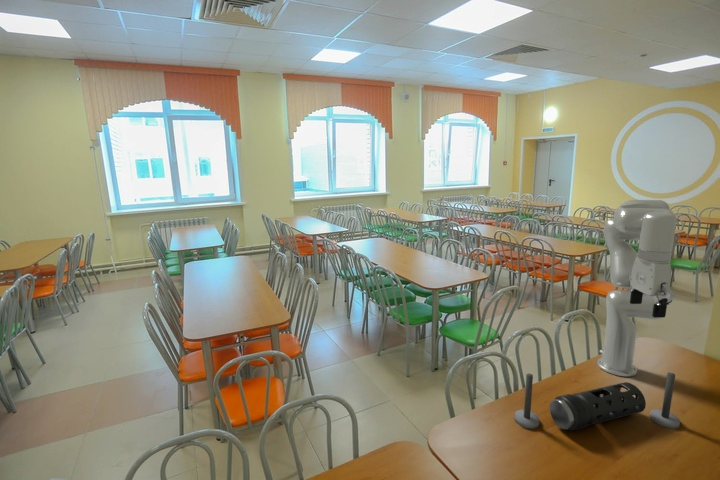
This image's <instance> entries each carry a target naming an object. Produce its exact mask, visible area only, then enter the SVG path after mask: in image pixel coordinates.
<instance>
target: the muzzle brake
mask: <svg viewBox="0 0 720 480" xmlns="http://www.w3.org/2000/svg"><path fill="white" fill-rule="evenodd" d="M622 388H623V389H625V390H626V391H621V390H622ZM634 396H635V397H634ZM646 404H647V402H646V399H645V396H644V394H643V392H642V391H641V390H640V389H639V388H638V387H637V386H636V385H634V384H632V383H631V382H627V381H626V382H619V383H616V384H612V385H611V384H610V385H607V386H603V387H598V388H594V389H589V390H585V391H580V392H576V393H573V394H572V393H566V394H563V395H557V396H556V397H555V398H554V399H553V400H551V402H550V403H549V414H550V415H551V418H552V420H553V422H554V424H555V425H556V426H557V427H558V428H560V429H562V430H569V431H576V430H581V429H583V428H586V427H587V426H591V425H595V424H600V423H603V422H607V421H612V420H615V419H619V418H622V417H628V416H631V415H634V414H639V413H642V412H643V411H644V410H645V409H646Z"/></svg>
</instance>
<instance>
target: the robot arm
mask: <svg viewBox="0 0 720 480" xmlns="http://www.w3.org/2000/svg"><path fill="white" fill-rule="evenodd" d="M677 219H678V218H677V216H676V214H675V213H674V212H673V211H672V210H671V208H670V206H669V204H668V203H667V202H666V201H665V200H662V199H661V200H660V199H655V200H654V199H629V200H627V201H625V202H623V203H621V204H620V206H618V207H617V208H616V209H615V212H614V214H613V218H609V219H608V220H606V221H605V222H604V224H603V237H604V241H605V244H606V247H607V249H608V252H609V270H610V271H609V274H610V275H609V276H610V282H611V284H612V285H613V286H614V287H617V288H621V289H615V290H612V291H609V292H608V293H607V294H606V297H605V304H606V305H605V307H606V322H605V323H606V324H605V332H604V342H603V343H604V344H603V349H600V350H599V354H602V355H601V357H600V358H598V359H597V362H596V363H597V366H598V367H599V368H600V369H601V370H602V371H604V372H606V373H608V374H611V375H615V376H619V377H634V376H636V375H637V373H638V369H637V367H636V366H635V365H633V364H634V363H633V362H634V355H635V350H636V349H635V348H636V339H637V333H638V330H637V326H636V323H634V322H633V320H632V319H631V318H638V319H645V320H646V319H647V320H657V321H658V320H660V319H661V320H662V318H665V317H666V315H667V314H666V313H667V308H668V306H669V305H670V303H672V302H673V300H674V299H675V297H676V294H675V293H674V291H673V290H672V288H670V287H671V280H672V267H671V266H672V265H671V260H672V255H673V254H672V253H673V247H674V239H675V235H676V227H677ZM626 240H627V241H638V242H639V243H638V250H637V251H636V250H635V249H634V248H633V247H632V245H631V244H629V243H628V242H627V241H626ZM622 288H623V289H625V290H622ZM626 289H629V290H626Z"/></svg>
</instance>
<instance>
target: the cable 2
mask: <svg viewBox="0 0 720 480" xmlns="http://www.w3.org/2000/svg"><path fill="white" fill-rule="evenodd" d="M675 379H676V374H675V373H674V372H667V374H666V381H665V387H664V388H665V389H664V396H663V400H662V408H661V409H660V408H659V409H657V408H654V409H651V410H650V413H649V414H650V415H649V418H650V420H651V421H652V422H653V423H654V424H657V425H658V426H660V427H663V428H666V429H671V430H676V429H678V428H680V425H681V420H680V418H679V417H678V416H677V415H675V414H674V413H672V412H671V407H672V400H673V393H674V388H675V387H674V385H675V381H676V380H675Z"/></svg>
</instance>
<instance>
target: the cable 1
mask: <svg viewBox="0 0 720 480" xmlns="http://www.w3.org/2000/svg"><path fill="white" fill-rule="evenodd" d="M533 379H534V375H533V374H532V373H526V378H525V392H524V393H525V394H524V407H523V409H519V410H516V411H515V413H514V421H515V423H516V424H517V425H519V427H521V426H522V428H524V429H528V430H536V429H537V428H538V427H539V426H540V418H539V416H538V415H537V414H536V413H535V412H533V411H531V410H532V397H533V396H532V394H533Z"/></svg>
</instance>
